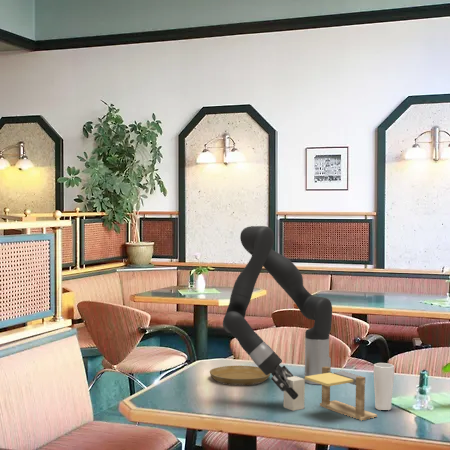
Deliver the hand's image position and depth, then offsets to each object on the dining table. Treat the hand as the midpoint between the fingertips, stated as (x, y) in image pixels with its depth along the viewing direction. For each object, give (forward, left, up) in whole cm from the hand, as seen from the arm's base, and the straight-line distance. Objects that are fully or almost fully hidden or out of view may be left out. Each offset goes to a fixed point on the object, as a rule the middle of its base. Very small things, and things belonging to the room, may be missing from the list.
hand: (298, 394), depth 243 cm
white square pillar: (+1, -1, -5) cm, 5 cm away
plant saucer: (-6, -43, -5) cm, 44 cm away
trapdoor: (-6, +12, +6) cm, 14 cm away
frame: (-12, +12, -5) cm, 17 cm away
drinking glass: (-24, +16, -5) cm, 29 cm away
